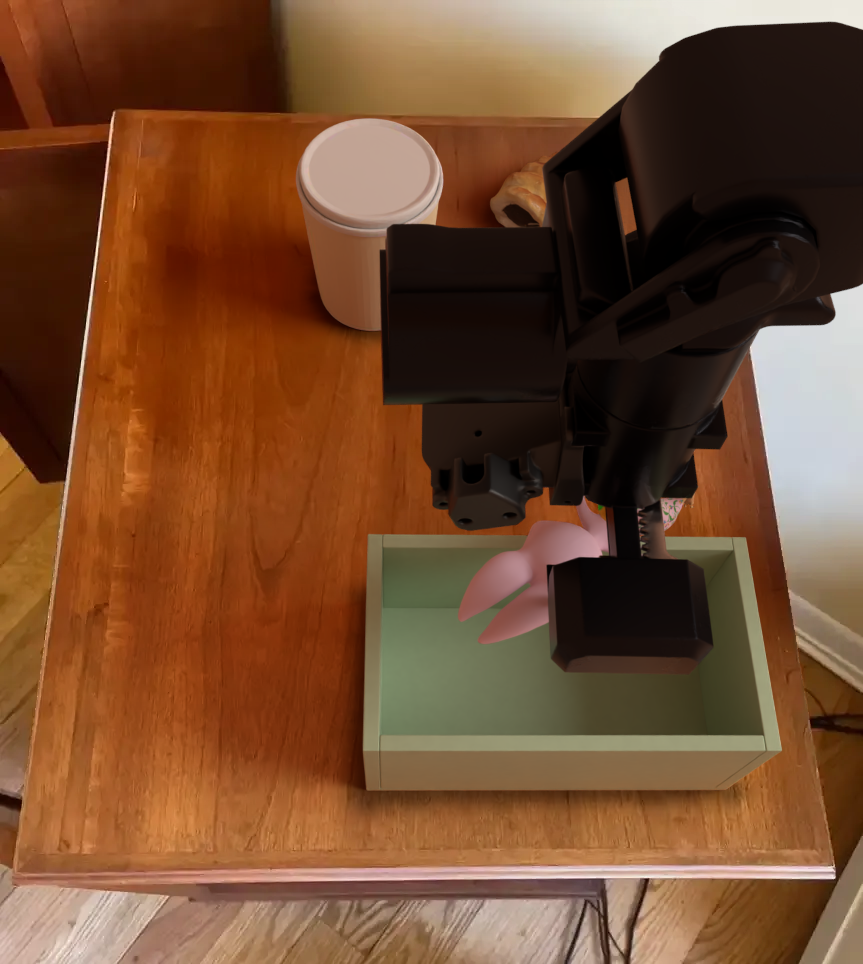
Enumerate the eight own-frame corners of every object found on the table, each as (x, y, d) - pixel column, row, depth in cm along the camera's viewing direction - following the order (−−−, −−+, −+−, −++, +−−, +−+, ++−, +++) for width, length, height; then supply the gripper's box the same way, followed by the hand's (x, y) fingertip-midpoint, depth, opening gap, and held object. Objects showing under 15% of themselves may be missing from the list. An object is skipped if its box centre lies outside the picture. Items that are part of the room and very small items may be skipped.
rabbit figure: (621, 465, 58) (421, 600, 50) (658, 398, 53) (441, 536, 46) (702, 543, 55) (504, 695, 48) (747, 480, 51) (535, 639, 43)
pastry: (556, 152, 82) (564, 114, 78) (624, 196, 80) (635, 159, 76) (481, 216, 78) (486, 180, 75) (550, 264, 76) (558, 229, 73)
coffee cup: (434, 240, 77) (441, 114, 66) (438, 341, 72) (446, 224, 62) (310, 239, 76) (297, 113, 66) (306, 341, 72) (292, 223, 61)
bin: (699, 600, 64) (746, 536, 55) (725, 790, 58) (782, 751, 50) (370, 598, 63) (367, 533, 55) (366, 790, 57) (362, 750, 49)
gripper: (438, 174, 42) (426, 383, 56) (436, 593, 33) (422, 718, 47) (703, 183, 43) (626, 388, 56) (770, 600, 34) (659, 722, 48)
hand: (581, 540), depth 52 cm, fingers closed on rabbit figure, 7 cm apart
